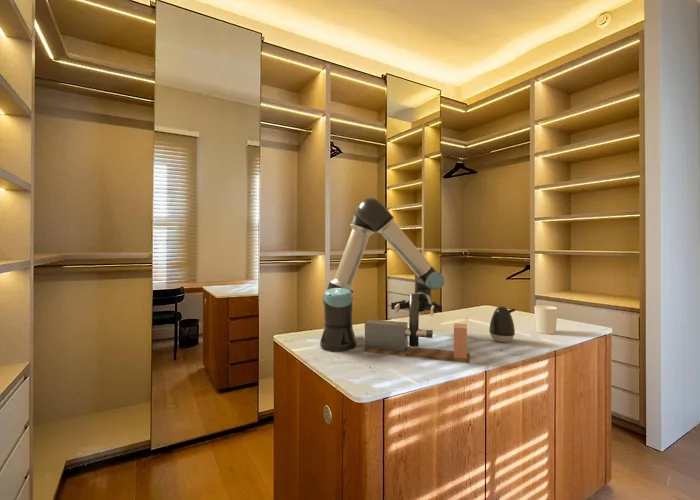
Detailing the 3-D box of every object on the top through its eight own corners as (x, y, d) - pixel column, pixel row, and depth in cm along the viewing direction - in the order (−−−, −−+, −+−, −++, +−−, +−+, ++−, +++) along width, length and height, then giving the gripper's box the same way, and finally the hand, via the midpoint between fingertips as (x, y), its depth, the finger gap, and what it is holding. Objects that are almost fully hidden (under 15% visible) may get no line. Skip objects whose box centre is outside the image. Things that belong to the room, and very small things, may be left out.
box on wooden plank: (364, 348, 139) (364, 322, 138) (369, 343, 145) (369, 319, 144) (404, 352, 133) (404, 325, 133) (407, 347, 139) (407, 322, 139)
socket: (453, 357, 127) (453, 327, 127) (454, 351, 134) (454, 323, 134) (466, 358, 126) (466, 328, 126) (466, 352, 132) (466, 324, 132)
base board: (363, 351, 137) (363, 349, 137) (369, 345, 146) (369, 342, 146) (469, 362, 125) (469, 359, 125) (469, 354, 133) (469, 352, 133)
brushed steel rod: (370, 342, 139) (370, 292, 139) (372, 340, 143) (372, 291, 142) (431, 348, 131) (432, 295, 131) (432, 345, 135) (432, 294, 134)
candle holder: (529, 329, 171) (529, 305, 171) (548, 329, 172) (548, 305, 172) (542, 335, 161) (542, 309, 161) (562, 334, 163) (562, 308, 162)
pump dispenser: (518, 345, 146) (518, 309, 146) (491, 343, 148) (492, 308, 148) (511, 338, 156) (512, 304, 156) (487, 337, 158) (487, 303, 158)
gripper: (449, 312, 149) (447, 323, 129) (392, 308, 157) (381, 318, 136) (449, 294, 148) (447, 303, 128) (392, 292, 156) (381, 299, 136)
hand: (413, 311), depth 132 cm, fingers open, 13 cm apart
